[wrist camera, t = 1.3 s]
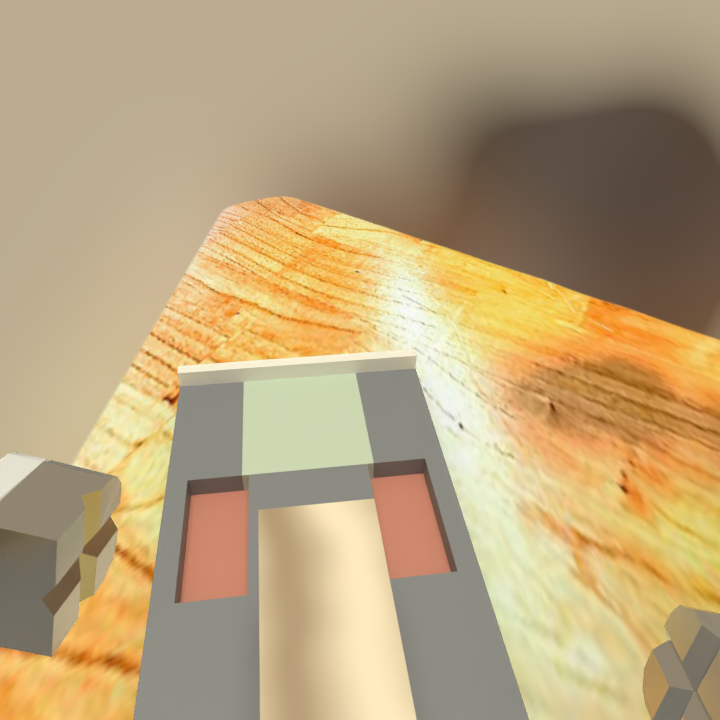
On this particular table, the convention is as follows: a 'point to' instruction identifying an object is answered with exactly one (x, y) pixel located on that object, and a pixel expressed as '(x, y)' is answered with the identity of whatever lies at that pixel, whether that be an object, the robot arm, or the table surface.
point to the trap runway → (307, 487)
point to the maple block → (328, 617)
